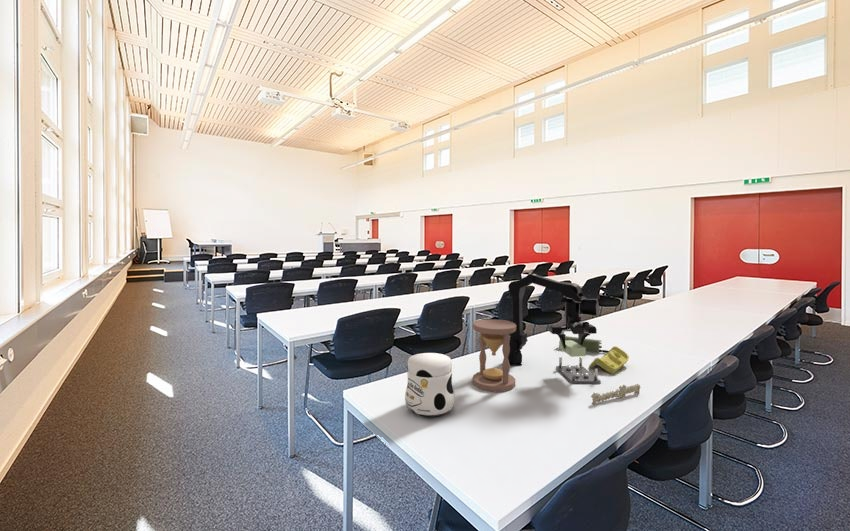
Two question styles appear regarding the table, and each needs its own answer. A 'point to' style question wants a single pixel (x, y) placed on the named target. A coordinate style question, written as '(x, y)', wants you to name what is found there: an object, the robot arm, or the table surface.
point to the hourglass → (494, 339)
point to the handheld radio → (588, 344)
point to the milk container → (429, 384)
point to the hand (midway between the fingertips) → (572, 348)
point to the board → (573, 348)
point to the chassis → (578, 373)
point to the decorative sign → (616, 393)
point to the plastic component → (611, 360)
